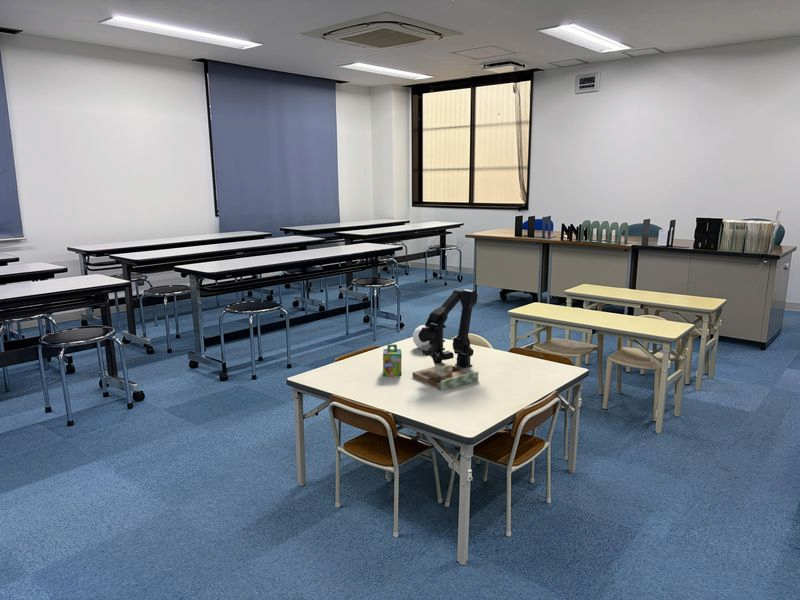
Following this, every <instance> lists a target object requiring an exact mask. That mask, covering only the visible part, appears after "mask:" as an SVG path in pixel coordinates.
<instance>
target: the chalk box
mask: <svg viewBox="0 0 800 600" xmlns="http://www.w3.org/2000/svg"><path fill="white" fill-rule="evenodd" d="M386 347H387V349H386V348H385V349H383V354H382V376H383V377H396V378H397V377H400V378H401V377H402V355H403V354H402V349H400V348H398V345H397V344H395V343H393V344H387V346H386Z"/></svg>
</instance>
